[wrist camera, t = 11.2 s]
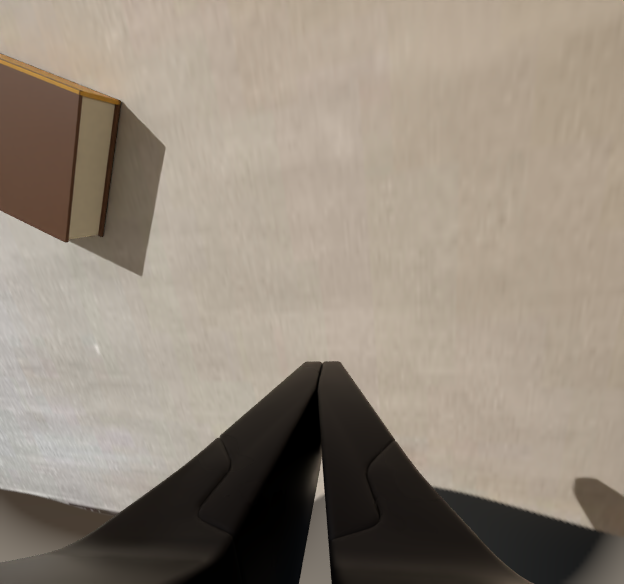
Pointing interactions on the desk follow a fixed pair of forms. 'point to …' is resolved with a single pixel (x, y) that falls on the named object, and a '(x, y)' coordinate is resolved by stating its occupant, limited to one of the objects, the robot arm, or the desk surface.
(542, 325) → the desk surface
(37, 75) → the book
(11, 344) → the desk surface
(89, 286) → the desk surface
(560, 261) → the desk surface
